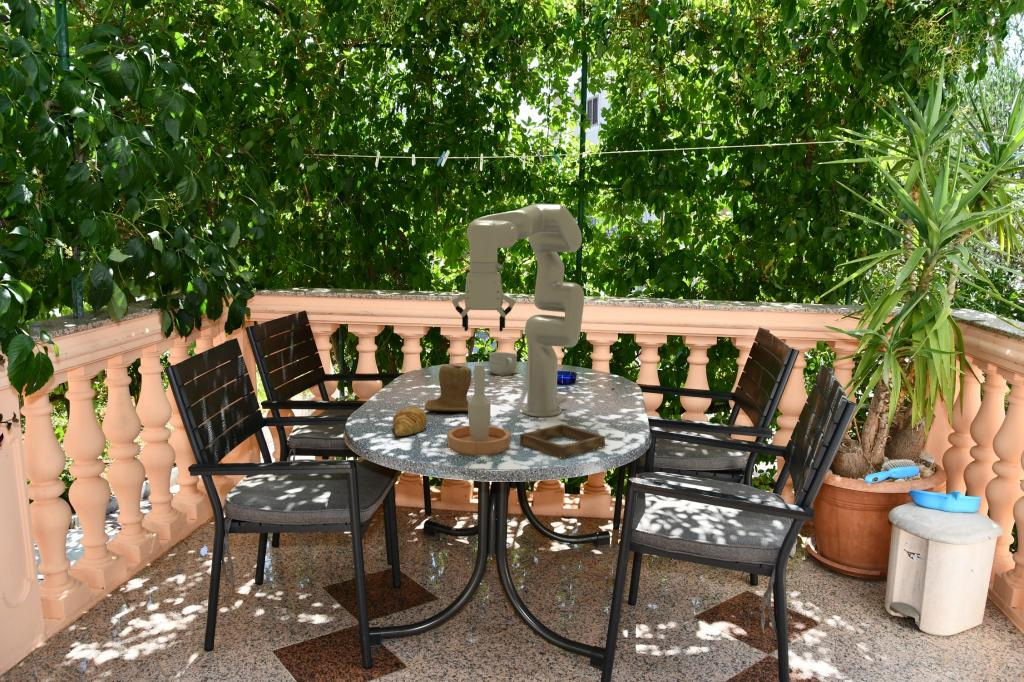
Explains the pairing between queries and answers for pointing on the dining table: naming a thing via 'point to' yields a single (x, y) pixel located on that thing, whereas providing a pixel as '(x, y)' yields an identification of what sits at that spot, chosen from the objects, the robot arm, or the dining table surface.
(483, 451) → the terracotta dish
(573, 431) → the square wooden frame
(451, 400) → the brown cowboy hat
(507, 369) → the teacup
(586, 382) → the dining table surface
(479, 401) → the faceted bottle
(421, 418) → the croissant
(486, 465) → the dining table surface
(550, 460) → the dining table surface
